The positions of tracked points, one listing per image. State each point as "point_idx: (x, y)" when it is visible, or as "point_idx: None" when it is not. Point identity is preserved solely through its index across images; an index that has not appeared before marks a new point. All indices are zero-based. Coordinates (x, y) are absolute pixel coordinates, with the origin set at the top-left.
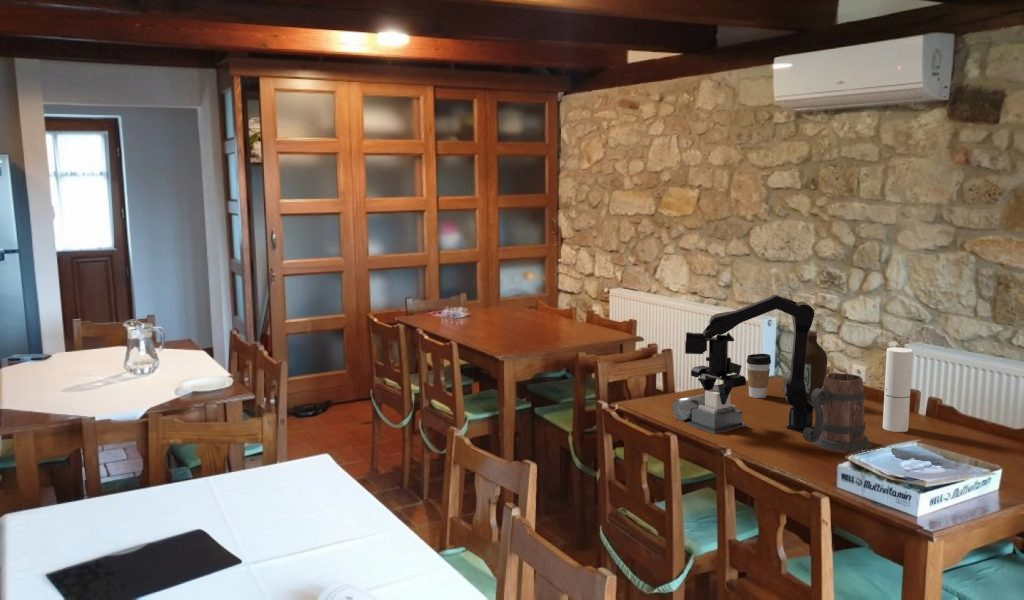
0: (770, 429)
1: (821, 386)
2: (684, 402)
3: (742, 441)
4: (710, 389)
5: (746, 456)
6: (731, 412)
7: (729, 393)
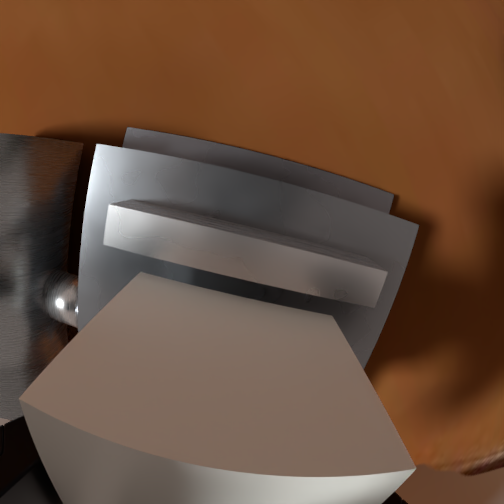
0: (485, 167)
1: None
2: (12, 418)
3: (431, 404)
4: (56, 501)
5: (450, 463)
6: (360, 342)
7: (388, 453)
